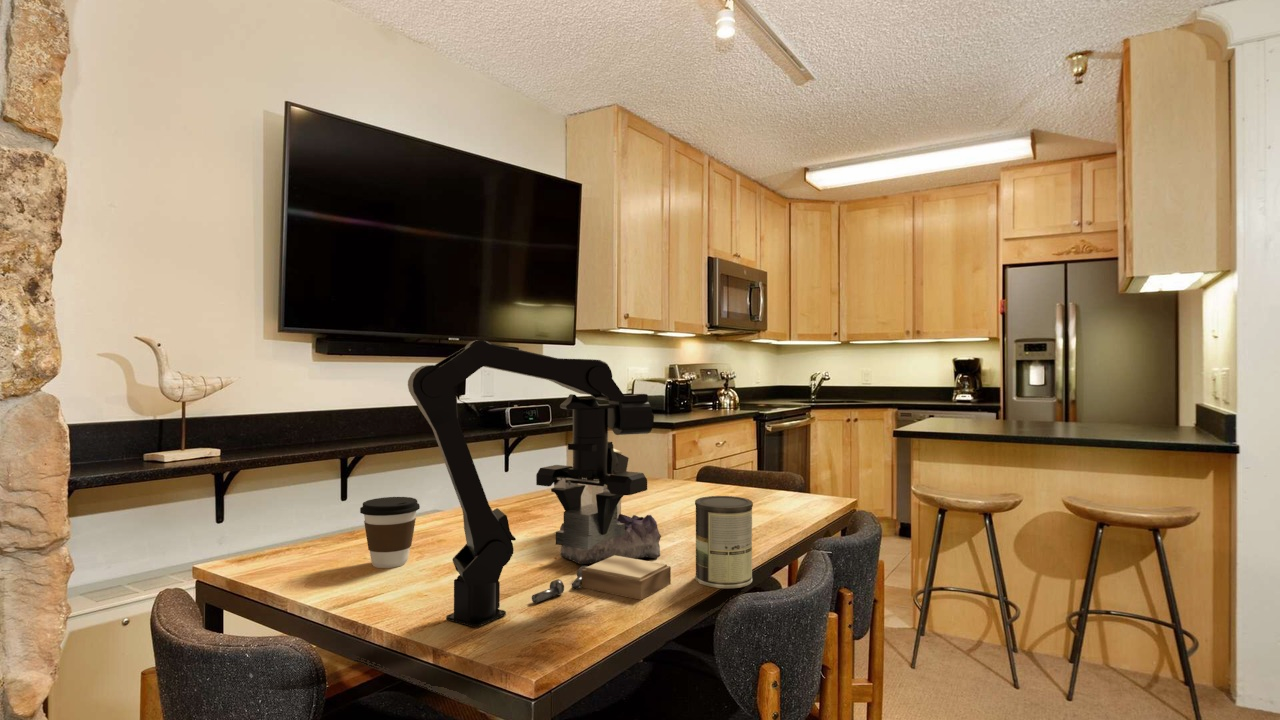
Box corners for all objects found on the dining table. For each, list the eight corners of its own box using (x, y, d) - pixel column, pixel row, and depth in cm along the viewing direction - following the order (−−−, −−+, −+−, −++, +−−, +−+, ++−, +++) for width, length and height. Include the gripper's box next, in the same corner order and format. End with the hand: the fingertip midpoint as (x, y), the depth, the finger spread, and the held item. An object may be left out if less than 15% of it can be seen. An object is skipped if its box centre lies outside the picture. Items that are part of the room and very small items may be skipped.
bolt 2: (582, 590, 117) (583, 576, 117) (568, 588, 117) (569, 574, 117) (590, 579, 123) (591, 566, 123) (577, 578, 123) (578, 564, 123)
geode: (648, 547, 146) (652, 501, 145) (667, 569, 135) (672, 520, 134) (554, 551, 139) (558, 503, 138) (566, 575, 128) (570, 523, 127)
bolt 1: (540, 599, 109) (533, 585, 110) (532, 606, 110) (526, 593, 111) (566, 589, 114) (559, 576, 115) (558, 596, 115) (552, 583, 116)
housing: (588, 549, 106) (587, 517, 106) (555, 544, 109) (555, 512, 109) (624, 535, 114) (624, 505, 114) (593, 530, 118) (593, 501, 118)
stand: (640, 599, 112) (640, 578, 112) (581, 587, 118) (581, 567, 118) (670, 583, 120) (670, 564, 120) (613, 572, 127) (613, 554, 127)
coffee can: (683, 580, 122) (683, 501, 122) (715, 567, 130) (715, 493, 130) (733, 593, 115) (733, 509, 116) (763, 578, 123) (763, 500, 124)
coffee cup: (431, 561, 134) (431, 500, 134) (383, 575, 125) (383, 509, 125) (395, 553, 140) (396, 494, 140) (347, 565, 131) (347, 502, 131)
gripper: (664, 435, 114) (664, 529, 113) (574, 429, 123) (574, 516, 123) (628, 441, 104) (628, 544, 104) (534, 435, 114) (534, 529, 114)
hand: (590, 532), depth 111 cm, fingers closed on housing, 5 cm apart
